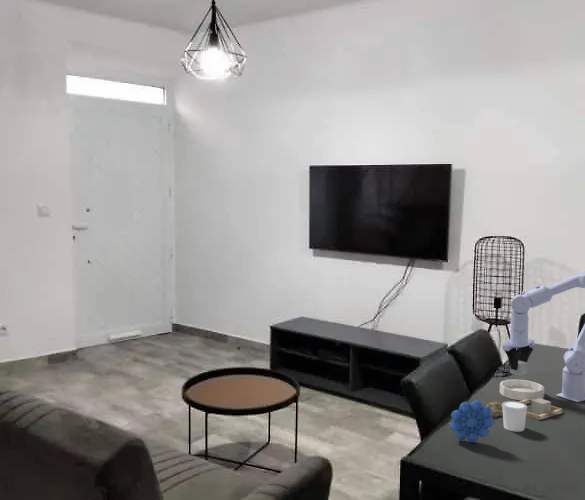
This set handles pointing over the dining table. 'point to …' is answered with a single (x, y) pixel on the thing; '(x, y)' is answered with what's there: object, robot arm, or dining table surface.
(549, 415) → the parts frame
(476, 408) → the blue knobbed flower
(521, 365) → the matte grey cube
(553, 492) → the dining table surface
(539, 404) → the beige grey cube
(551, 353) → the dining table surface
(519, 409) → the white cup
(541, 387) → the bowl
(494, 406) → the mineral rock
